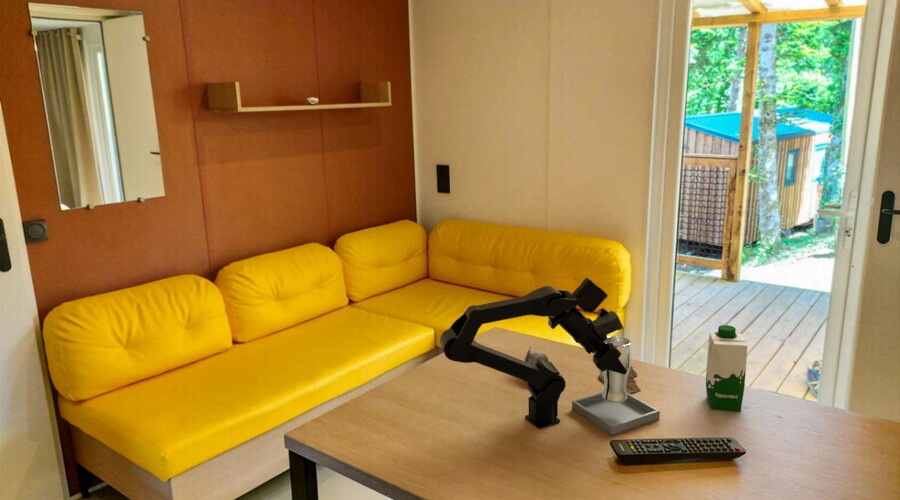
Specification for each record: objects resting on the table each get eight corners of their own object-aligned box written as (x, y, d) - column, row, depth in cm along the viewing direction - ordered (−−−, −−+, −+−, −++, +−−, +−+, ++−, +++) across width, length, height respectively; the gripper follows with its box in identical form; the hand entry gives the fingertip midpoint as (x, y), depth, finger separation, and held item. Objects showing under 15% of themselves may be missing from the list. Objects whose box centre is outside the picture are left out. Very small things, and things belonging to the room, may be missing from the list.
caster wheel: (550, 395, 175) (516, 386, 178) (559, 371, 184) (526, 362, 187) (553, 376, 172) (518, 367, 175) (562, 353, 181) (528, 344, 184)
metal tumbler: (601, 389, 161) (603, 334, 158) (630, 393, 159) (632, 337, 155) (598, 401, 155) (600, 344, 151) (628, 405, 152) (630, 347, 149)
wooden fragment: (642, 398, 167) (642, 394, 166) (599, 396, 169) (599, 392, 168) (633, 359, 191) (633, 356, 191) (596, 358, 193) (596, 354, 193)
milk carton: (738, 397, 164) (744, 325, 160) (745, 414, 156) (751, 338, 151) (702, 395, 167) (707, 323, 162) (707, 411, 158) (712, 336, 153)
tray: (612, 436, 148) (612, 426, 148) (571, 410, 161) (572, 401, 161) (659, 420, 155) (659, 410, 154) (617, 395, 168) (617, 387, 167)
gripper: (613, 315, 142) (659, 359, 145) (592, 291, 160) (633, 330, 163) (578, 349, 143) (623, 392, 146) (560, 321, 162) (601, 360, 164)
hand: (621, 367), depth 155 cm, fingers closed on metal tumbler, 6 cm apart
